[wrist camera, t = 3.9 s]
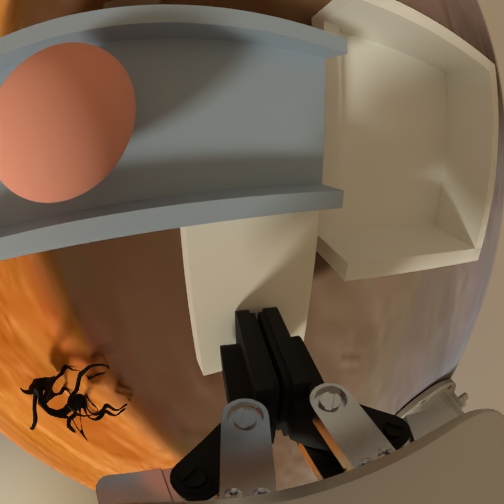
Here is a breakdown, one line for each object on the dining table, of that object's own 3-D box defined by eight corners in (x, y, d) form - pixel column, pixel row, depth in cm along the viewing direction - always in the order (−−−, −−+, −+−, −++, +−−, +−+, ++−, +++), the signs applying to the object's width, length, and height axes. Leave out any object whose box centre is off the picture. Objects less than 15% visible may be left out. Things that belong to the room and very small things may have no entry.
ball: (-12, 27, 1) (-4, 82, 3) (-12, 243, 3) (1, 209, 5) (170, 19, 4) (109, 66, 6) (168, 190, 5) (110, 179, 7)
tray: (445, 66, 11) (494, 64, 7) (433, 233, 16) (477, 260, 12) (311, 17, 10) (354, -17, 6) (305, 240, 14) (344, 281, 10)
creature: (135, 359, 17) (29, 332, 13) (145, 425, 13) (15, 399, 8) (116, 410, 19) (33, 392, 15) (125, 462, 15) (30, 446, 11)
